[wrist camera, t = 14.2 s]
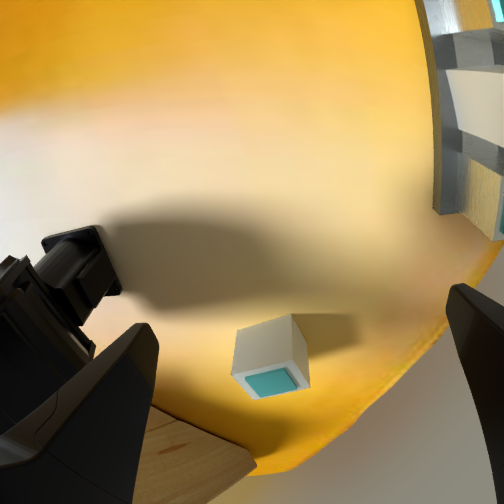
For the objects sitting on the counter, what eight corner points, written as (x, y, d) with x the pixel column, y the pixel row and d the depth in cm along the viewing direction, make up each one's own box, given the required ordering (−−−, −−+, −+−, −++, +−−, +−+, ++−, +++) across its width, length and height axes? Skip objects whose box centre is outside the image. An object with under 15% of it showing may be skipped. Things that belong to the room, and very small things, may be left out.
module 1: (256, 356, 28) (253, 402, 24) (237, 329, 27) (230, 377, 22) (306, 342, 27) (310, 390, 23) (290, 313, 25) (292, 362, 21)
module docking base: (432, 208, 20) (477, 254, 14) (407, -26, 11) (455, -55, 6) (500, 201, 19) (548, 240, 13) (486, -8, 10) (541, -18, 5)
